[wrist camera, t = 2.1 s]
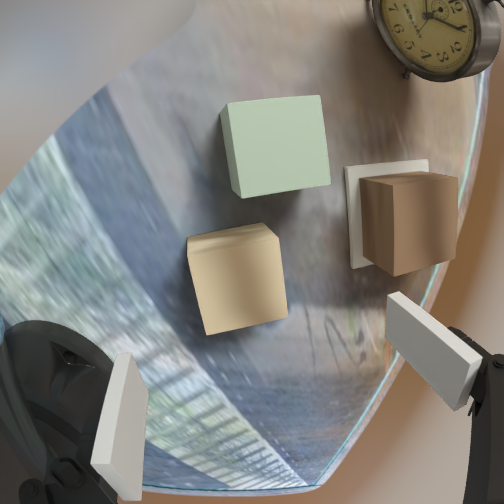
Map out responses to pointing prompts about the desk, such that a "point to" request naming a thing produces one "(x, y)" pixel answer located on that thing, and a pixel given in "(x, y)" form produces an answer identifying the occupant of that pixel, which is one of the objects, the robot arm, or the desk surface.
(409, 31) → the alarm clock
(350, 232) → the mat
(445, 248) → the walnut brick
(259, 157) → the sage brick
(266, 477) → the desk surface
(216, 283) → the maple brick
